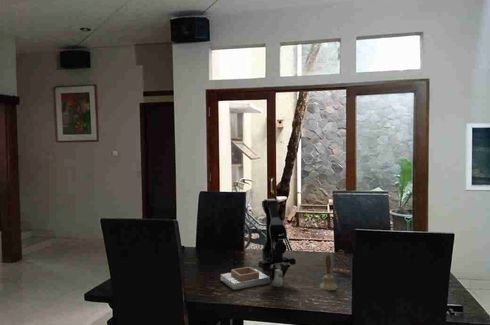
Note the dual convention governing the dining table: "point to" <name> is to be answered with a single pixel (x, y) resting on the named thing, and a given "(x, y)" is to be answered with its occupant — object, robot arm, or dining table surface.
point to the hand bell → (328, 277)
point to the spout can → (277, 278)
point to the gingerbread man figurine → (341, 265)
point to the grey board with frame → (244, 278)
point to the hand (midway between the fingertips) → (277, 279)
